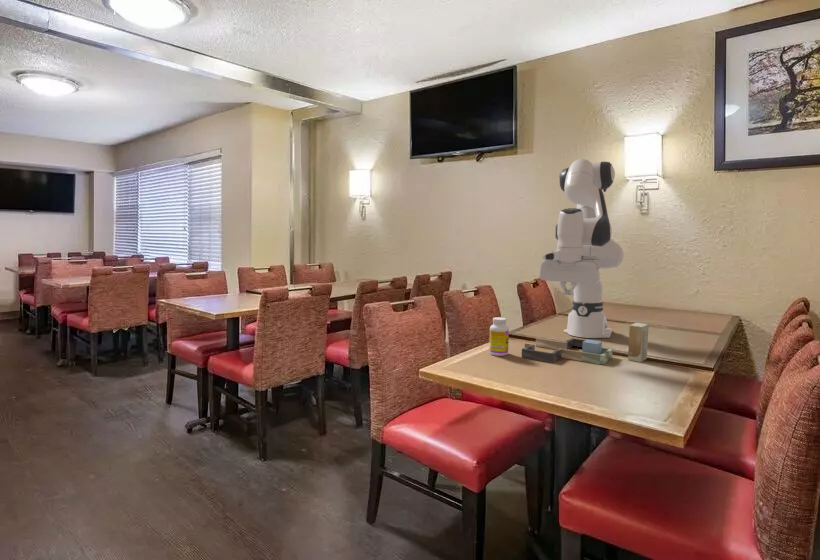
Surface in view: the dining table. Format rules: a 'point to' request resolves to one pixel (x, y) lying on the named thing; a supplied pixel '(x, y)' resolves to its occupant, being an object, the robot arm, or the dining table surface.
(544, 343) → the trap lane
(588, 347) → the block
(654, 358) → the dining table surface
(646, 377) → the dining table surface
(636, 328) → the skincare box
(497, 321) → the supplement bottle
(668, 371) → the dining table surface
